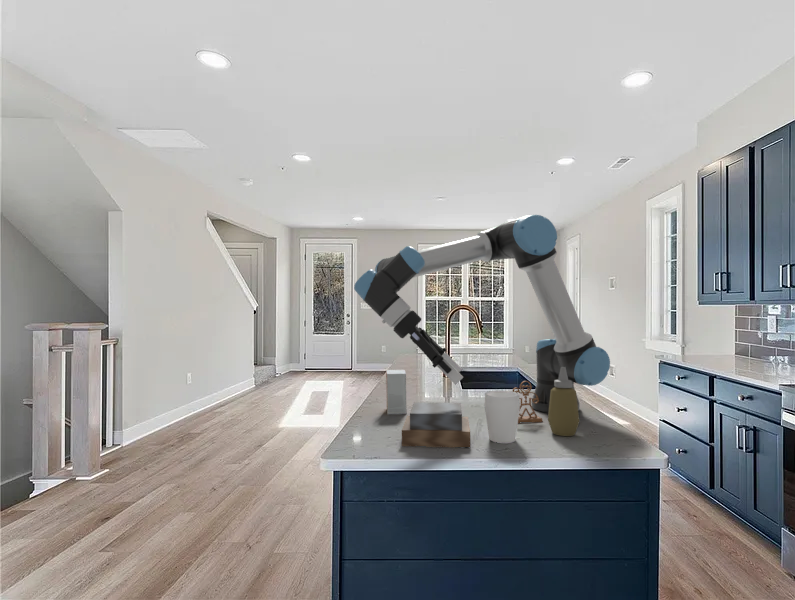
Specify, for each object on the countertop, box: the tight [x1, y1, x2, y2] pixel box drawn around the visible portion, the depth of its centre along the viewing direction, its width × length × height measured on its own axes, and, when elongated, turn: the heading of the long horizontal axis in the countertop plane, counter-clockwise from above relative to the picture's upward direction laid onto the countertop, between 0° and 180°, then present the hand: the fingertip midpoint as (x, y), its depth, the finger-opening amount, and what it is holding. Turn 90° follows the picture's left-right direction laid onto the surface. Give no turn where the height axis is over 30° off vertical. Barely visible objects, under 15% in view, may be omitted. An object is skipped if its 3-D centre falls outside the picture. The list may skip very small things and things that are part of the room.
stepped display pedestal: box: [401, 401, 471, 448], centre depth 128 cm, size 17×15×8 cm
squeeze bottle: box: [547, 367, 580, 437], centre depth 132 cm, size 8×8×18 cm
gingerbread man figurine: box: [512, 380, 543, 424], centre depth 145 cm, size 9×4×12 cm, turn 100°
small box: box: [385, 369, 408, 415], centre depth 159 cm, size 8×6×13 cm
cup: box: [483, 390, 521, 444], centre depth 127 cm, size 9×9×12 cm
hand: (459, 376), depth 128 cm, fingers open, 13 cm apart
